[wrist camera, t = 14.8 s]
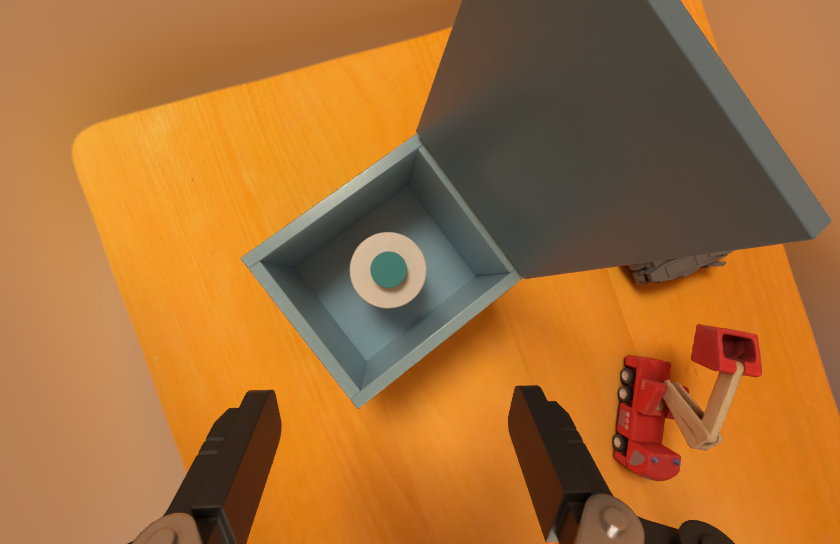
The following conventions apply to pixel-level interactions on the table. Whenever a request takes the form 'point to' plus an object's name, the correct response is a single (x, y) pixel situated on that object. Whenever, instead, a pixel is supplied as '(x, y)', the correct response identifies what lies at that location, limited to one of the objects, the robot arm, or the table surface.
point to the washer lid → (607, 137)
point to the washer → (331, 256)
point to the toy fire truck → (679, 401)
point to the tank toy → (674, 267)
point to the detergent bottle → (388, 270)
